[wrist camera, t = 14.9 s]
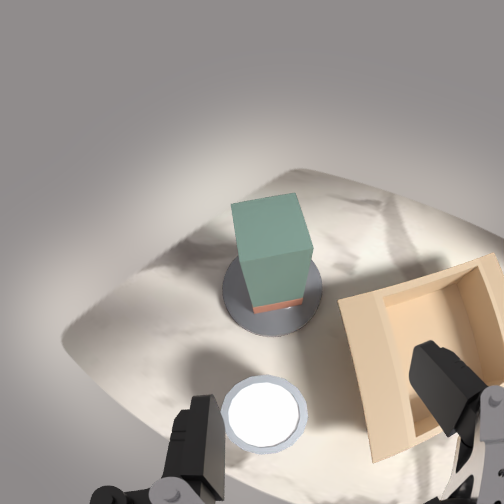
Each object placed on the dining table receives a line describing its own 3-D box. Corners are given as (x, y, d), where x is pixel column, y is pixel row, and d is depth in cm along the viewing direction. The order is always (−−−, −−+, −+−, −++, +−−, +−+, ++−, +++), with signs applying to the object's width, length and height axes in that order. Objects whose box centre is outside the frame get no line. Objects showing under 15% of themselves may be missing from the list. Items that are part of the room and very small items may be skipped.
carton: (470, 273, 28) (493, 252, 23) (500, 375, 21) (529, 366, 16) (326, 317, 28) (337, 299, 23) (355, 450, 21) (373, 463, 16)
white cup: (253, 367, 27) (245, 359, 21) (312, 394, 25) (323, 395, 19) (222, 421, 24) (204, 429, 18) (281, 450, 22) (282, 467, 16)
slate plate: (293, 233, 34) (293, 229, 33) (338, 309, 29) (340, 307, 28) (211, 268, 33) (209, 264, 32) (246, 353, 27) (245, 352, 27)
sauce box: (291, 262, 31) (295, 192, 21) (301, 304, 28) (314, 248, 18) (247, 270, 31) (230, 203, 21) (254, 313, 28) (239, 262, 18)
